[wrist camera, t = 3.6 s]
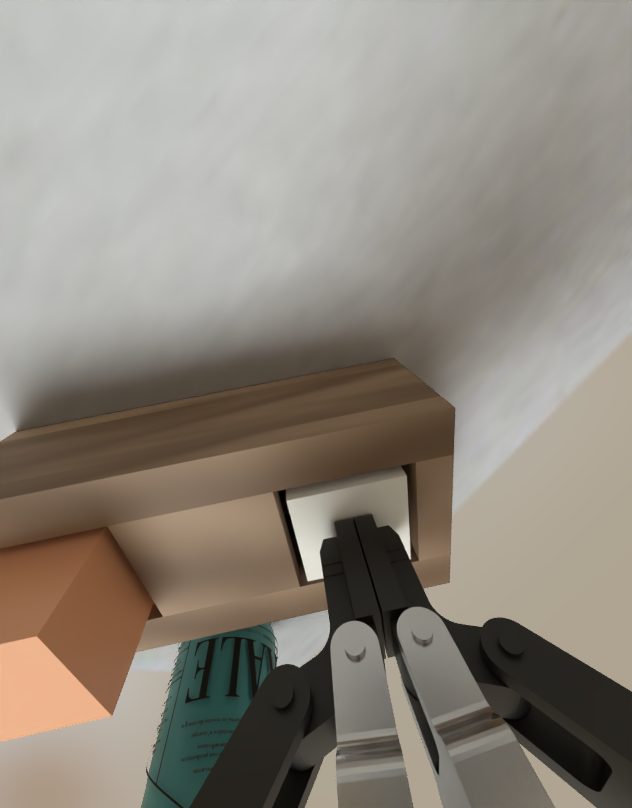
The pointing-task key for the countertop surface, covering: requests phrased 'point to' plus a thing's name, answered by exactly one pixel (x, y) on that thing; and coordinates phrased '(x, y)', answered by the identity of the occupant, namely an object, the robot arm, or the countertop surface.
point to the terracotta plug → (66, 630)
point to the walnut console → (232, 488)
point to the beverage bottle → (205, 709)
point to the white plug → (347, 509)
